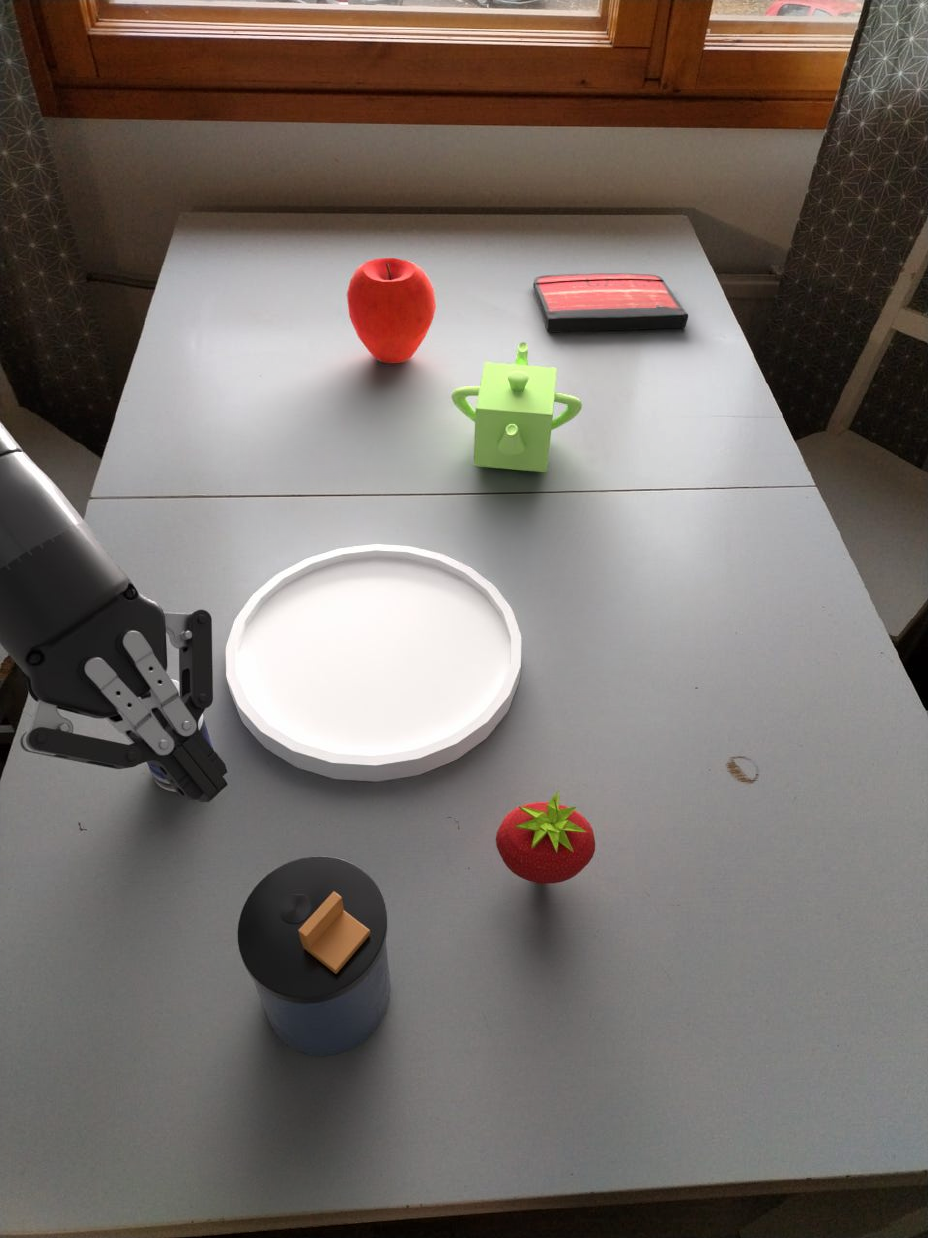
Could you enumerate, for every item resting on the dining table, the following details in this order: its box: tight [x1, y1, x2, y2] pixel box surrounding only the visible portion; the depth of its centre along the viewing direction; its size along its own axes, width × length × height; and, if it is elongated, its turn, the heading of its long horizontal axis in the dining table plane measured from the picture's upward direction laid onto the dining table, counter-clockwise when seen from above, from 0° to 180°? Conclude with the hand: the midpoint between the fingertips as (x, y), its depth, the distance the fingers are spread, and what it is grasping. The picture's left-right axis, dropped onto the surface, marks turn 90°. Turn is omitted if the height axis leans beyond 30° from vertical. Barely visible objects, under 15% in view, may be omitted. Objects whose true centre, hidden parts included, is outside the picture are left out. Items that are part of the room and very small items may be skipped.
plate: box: [225, 543, 522, 783], centre depth 85 cm, size 28×28×2 cm
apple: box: [346, 257, 437, 364], centre depth 121 cm, size 12×12×13 cm
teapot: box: [451, 341, 583, 473], centre depth 107 cm, size 15×13×11 cm
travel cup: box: [236, 855, 391, 1057], centre depth 60 cm, size 9×9×11 cm
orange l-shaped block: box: [298, 892, 370, 974], centre depth 55 cm, size 3×3×2 cm
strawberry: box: [495, 789, 596, 885], centre depth 67 cm, size 6×8×10 cm
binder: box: [532, 272, 689, 333], centre depth 136 cm, size 16×2×21 cm
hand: (214, 793), depth 53 cm, fingers closed
